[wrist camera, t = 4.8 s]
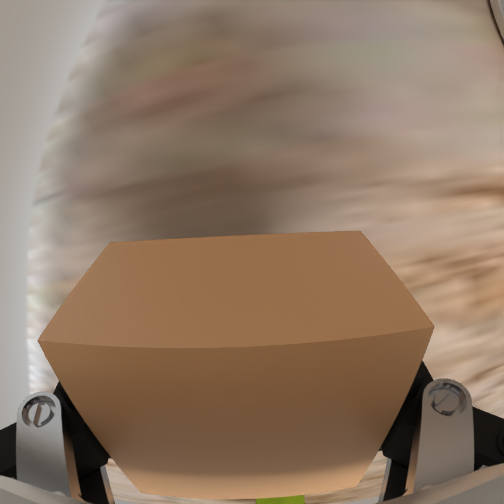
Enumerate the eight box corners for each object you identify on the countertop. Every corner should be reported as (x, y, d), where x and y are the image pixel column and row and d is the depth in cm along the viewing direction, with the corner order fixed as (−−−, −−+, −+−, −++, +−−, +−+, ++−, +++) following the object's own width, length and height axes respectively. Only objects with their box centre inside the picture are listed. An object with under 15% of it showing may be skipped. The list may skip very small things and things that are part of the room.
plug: (139, 208, 10) (37, 340, 4) (332, 199, 11) (434, 326, 4) (169, 352, 13) (141, 492, 7) (319, 346, 13) (356, 486, 7)
